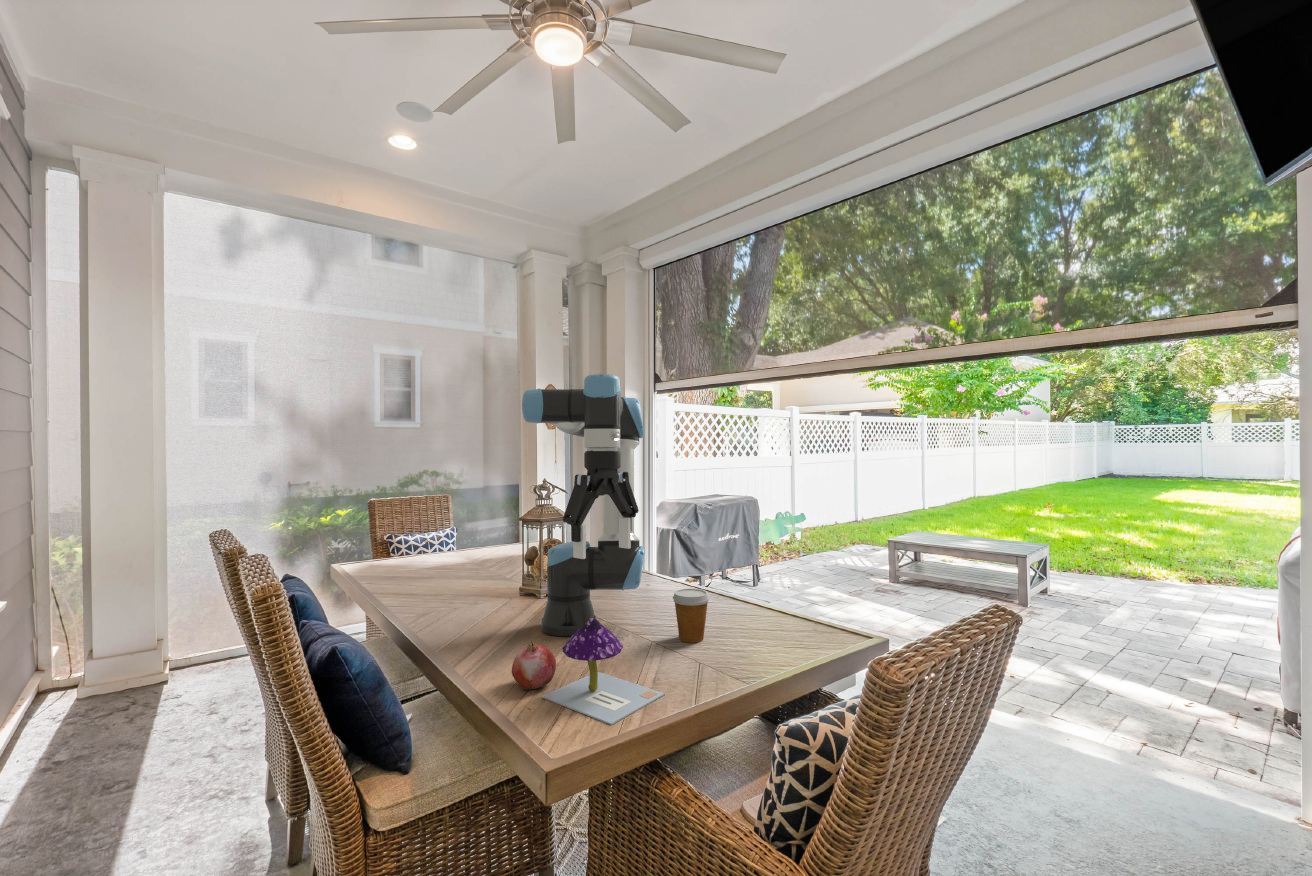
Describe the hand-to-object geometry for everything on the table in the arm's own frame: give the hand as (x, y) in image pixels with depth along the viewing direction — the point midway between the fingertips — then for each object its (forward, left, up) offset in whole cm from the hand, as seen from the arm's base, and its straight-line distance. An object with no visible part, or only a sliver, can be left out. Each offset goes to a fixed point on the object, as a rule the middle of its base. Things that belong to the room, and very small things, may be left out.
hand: (603, 552), depth 123 cm
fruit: (-14, -7, -29) cm, 33 cm away
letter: (+1, -2, -29) cm, 29 cm away
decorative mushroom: (-2, -2, -29) cm, 29 cm away
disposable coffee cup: (-4, +37, -29) cm, 47 cm away
